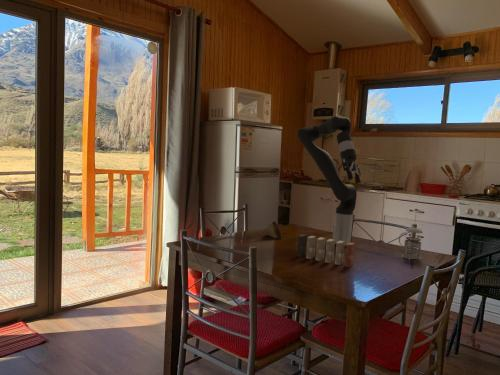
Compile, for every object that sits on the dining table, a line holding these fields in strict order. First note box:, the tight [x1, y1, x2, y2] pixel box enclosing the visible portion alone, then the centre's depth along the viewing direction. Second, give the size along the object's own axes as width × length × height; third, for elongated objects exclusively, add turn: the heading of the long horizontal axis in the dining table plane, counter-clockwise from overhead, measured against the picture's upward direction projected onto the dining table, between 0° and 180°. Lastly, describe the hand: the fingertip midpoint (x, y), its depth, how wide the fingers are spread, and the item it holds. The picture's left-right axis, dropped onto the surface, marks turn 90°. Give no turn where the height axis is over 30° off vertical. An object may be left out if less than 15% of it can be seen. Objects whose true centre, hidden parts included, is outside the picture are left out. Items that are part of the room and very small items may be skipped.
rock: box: [266, 220, 284, 240], centre depth 228 cm, size 11×9×10 cm
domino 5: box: [334, 241, 346, 266], centre depth 181 cm, size 2×5×10 cm, turn 151°
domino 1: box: [296, 233, 308, 258], centre depth 190 cm, size 2×5×10 cm, turn 151°
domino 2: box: [305, 235, 317, 260], centre depth 188 cm, size 2×5×10 cm, turn 150°
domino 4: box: [324, 238, 336, 264], centre depth 184 cm, size 2×5×10 cm, turn 150°
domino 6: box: [344, 241, 356, 268], centre depth 179 cm, size 2×5×10 cm, turn 150°
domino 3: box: [314, 236, 327, 262], centre depth 186 cm, size 2×5×10 cm, turn 150°
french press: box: [398, 208, 423, 260], centre depth 201 cm, size 10×12×25 cm
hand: (354, 181), depth 194 cm, fingers open, 8 cm apart
